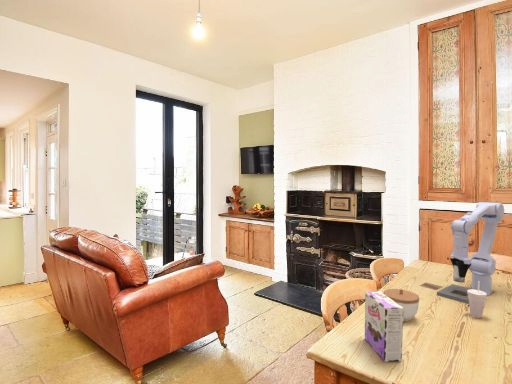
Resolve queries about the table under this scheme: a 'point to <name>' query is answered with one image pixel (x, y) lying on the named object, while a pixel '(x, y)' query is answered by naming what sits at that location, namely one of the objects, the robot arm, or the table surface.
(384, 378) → the table surface
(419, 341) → the table surface
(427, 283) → the tab
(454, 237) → the robot arm
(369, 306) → the candy box
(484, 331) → the table surface
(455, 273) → the steel peg
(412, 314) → the lidded bowl
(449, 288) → the hole plate
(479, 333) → the table surface
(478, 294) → the smoothie
